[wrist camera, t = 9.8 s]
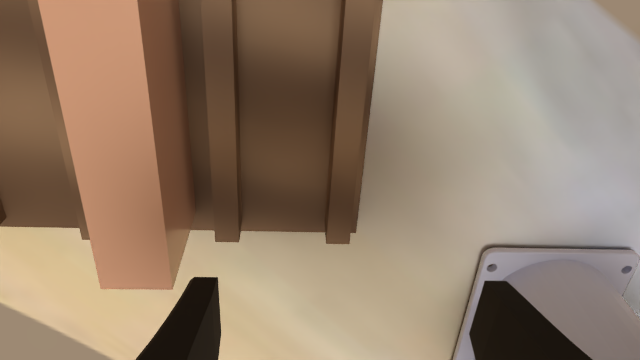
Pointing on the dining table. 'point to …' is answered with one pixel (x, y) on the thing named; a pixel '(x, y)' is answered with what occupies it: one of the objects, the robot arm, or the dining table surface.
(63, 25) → the clay block
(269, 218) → the rack
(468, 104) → the dining table surface
